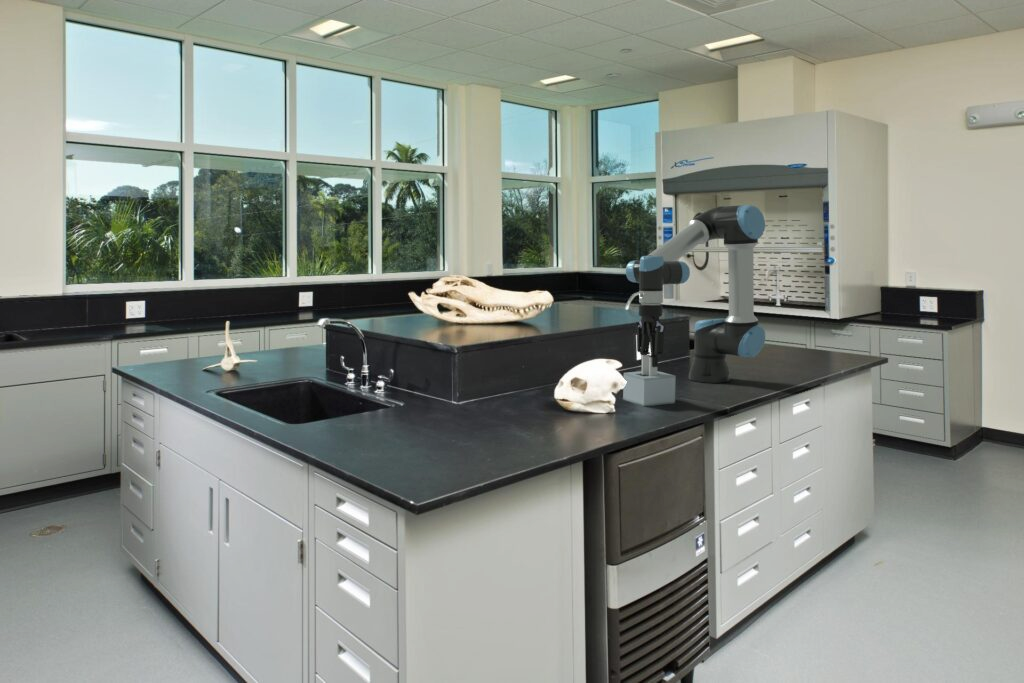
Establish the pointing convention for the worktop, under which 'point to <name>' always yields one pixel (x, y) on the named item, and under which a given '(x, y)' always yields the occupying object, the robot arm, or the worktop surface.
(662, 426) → the worktop surface
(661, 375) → the grey square hollow box
